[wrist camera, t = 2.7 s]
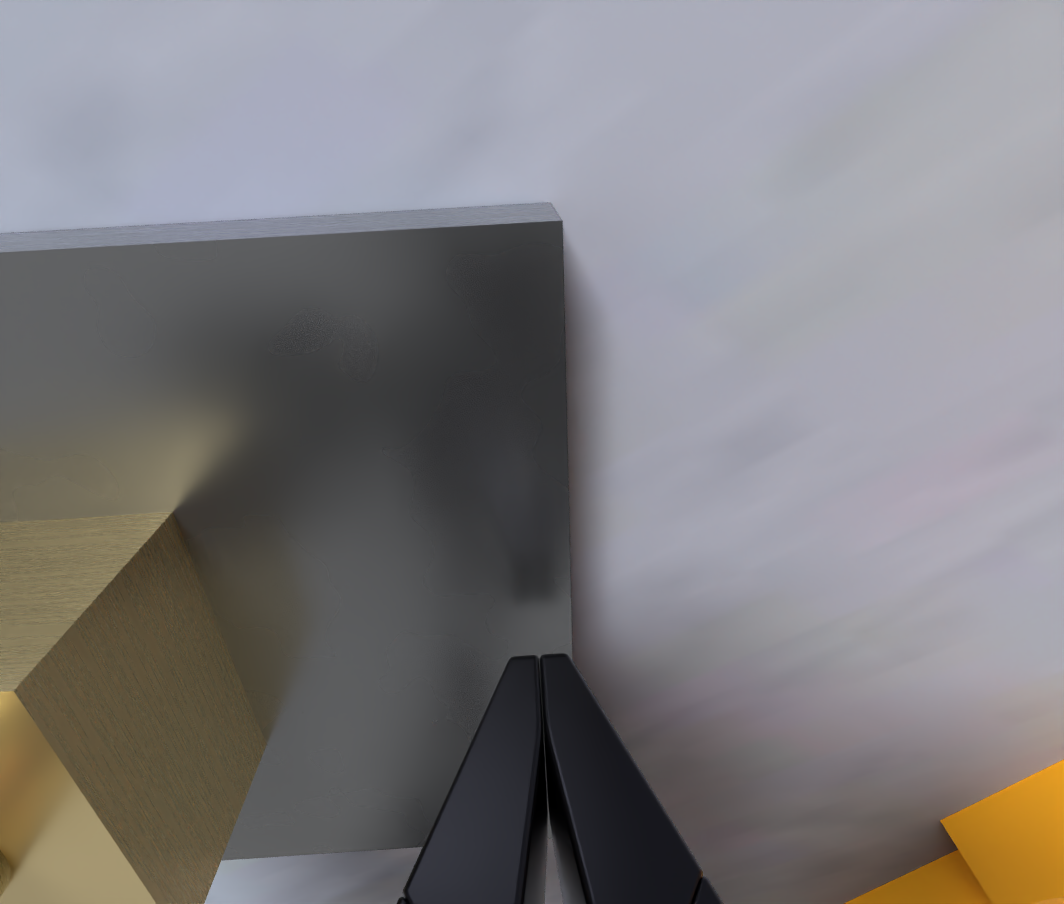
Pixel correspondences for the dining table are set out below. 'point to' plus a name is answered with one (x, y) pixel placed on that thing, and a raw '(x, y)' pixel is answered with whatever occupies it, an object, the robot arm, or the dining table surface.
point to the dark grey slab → (317, 472)
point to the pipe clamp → (994, 851)
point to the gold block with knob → (114, 716)
